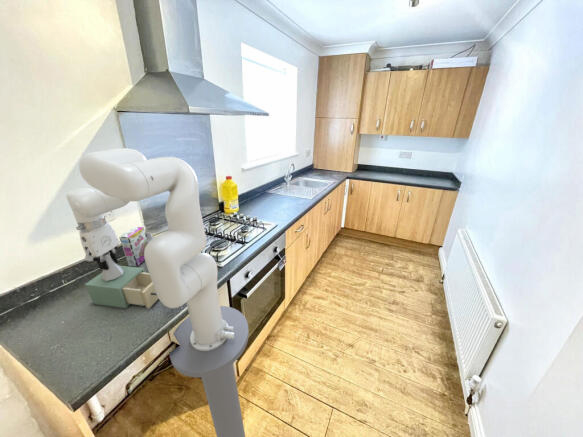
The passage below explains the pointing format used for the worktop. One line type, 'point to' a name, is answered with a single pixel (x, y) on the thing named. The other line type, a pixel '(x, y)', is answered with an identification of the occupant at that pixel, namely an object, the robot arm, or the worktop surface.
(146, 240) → the squeeze bottle
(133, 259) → the candy bar box
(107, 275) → the flask
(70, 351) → the worktop surface
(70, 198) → the robot arm
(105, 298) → the cabinet
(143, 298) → the drawer
